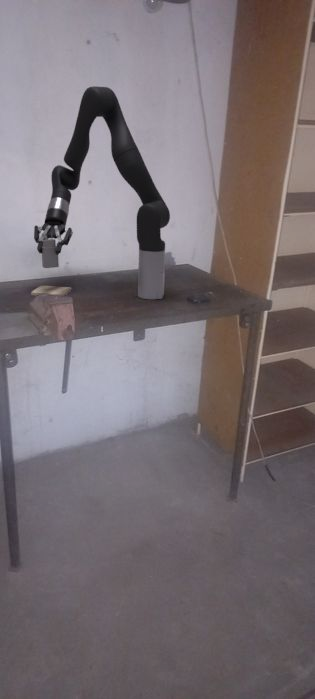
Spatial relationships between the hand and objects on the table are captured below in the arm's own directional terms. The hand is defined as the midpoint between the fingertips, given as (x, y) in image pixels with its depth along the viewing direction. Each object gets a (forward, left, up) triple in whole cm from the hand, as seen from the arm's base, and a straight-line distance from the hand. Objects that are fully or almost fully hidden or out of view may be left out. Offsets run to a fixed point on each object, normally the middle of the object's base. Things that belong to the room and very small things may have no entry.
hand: (48, 252), depth 183 cm
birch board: (0, -2, -15) cm, 15 cm away
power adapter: (0, -2, -6) cm, 6 cm away
